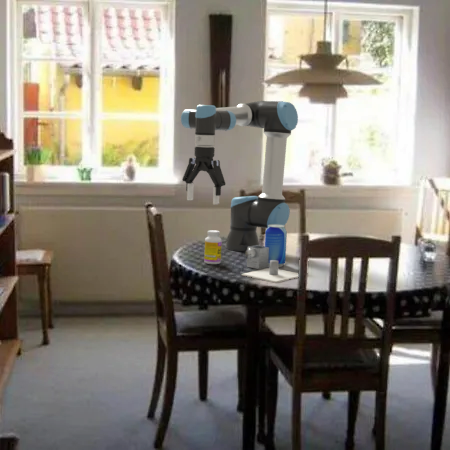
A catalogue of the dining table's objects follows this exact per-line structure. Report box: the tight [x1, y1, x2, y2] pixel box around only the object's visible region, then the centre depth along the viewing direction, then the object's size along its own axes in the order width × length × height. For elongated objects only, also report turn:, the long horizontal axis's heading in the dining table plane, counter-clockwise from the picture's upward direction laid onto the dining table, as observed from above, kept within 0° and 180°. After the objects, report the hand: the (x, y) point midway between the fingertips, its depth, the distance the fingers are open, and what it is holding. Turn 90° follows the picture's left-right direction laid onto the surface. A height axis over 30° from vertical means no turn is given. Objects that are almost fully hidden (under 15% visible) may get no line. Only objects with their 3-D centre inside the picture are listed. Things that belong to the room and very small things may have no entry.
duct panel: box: [241, 260, 299, 284], centre depth 295 cm, size 18×16×6 cm
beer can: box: [264, 224, 288, 268], centre depth 314 cm, size 8×8×16 cm
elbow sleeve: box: [244, 244, 269, 270], centre depth 309 cm, size 9×6×8 cm
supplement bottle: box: [203, 229, 223, 265], centre depth 314 cm, size 7×7×13 cm
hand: (202, 202), depth 302 cm, fingers open, 13 cm apart
